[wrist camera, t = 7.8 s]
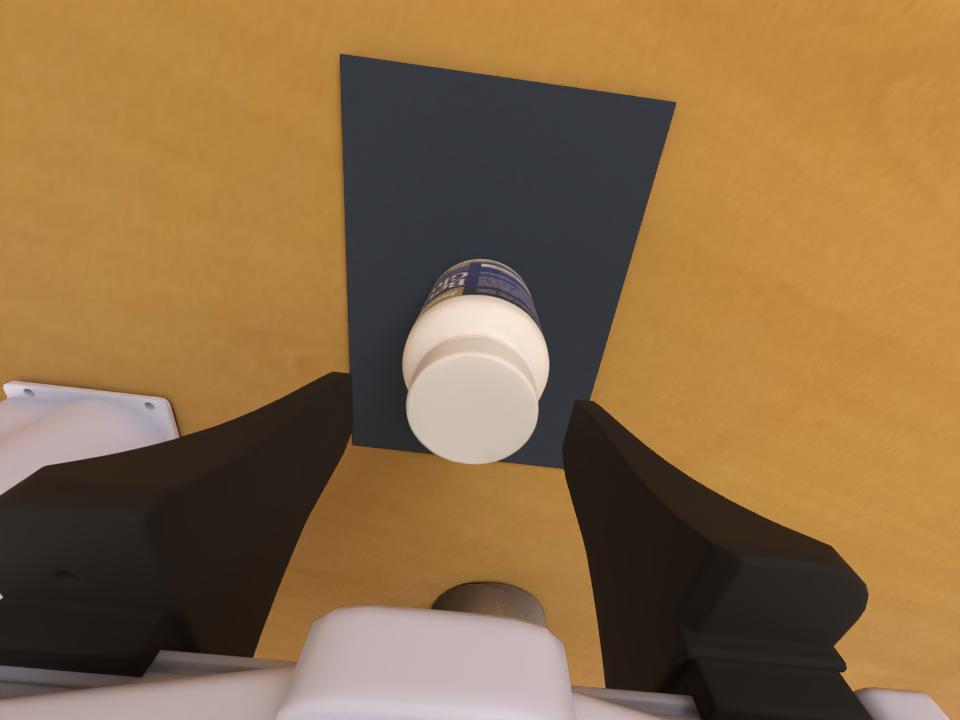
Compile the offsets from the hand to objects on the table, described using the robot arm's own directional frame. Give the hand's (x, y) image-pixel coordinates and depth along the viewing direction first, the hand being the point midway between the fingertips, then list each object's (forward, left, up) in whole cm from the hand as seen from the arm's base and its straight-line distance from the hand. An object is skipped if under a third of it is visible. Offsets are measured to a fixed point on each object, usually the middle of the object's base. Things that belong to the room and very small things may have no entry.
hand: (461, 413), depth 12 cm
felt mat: (0, +1, -9) cm, 9 cm away
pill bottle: (0, +1, -9) cm, 9 cm away
